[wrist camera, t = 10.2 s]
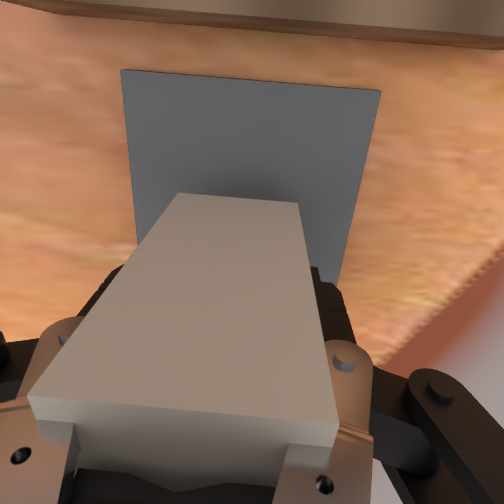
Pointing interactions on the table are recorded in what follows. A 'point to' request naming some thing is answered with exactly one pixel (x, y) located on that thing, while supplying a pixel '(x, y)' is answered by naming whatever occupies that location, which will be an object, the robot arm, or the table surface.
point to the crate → (314, 17)
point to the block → (199, 352)
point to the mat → (250, 149)
